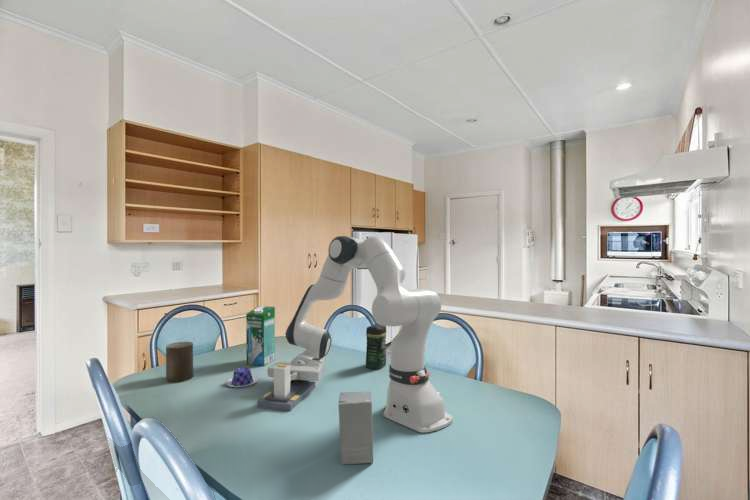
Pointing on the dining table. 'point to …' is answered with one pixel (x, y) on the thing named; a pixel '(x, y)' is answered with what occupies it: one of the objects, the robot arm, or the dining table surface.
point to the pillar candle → (179, 361)
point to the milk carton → (260, 335)
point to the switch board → (297, 394)
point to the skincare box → (355, 428)
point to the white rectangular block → (281, 381)
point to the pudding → (242, 378)
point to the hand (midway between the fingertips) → (285, 379)
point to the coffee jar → (376, 346)
